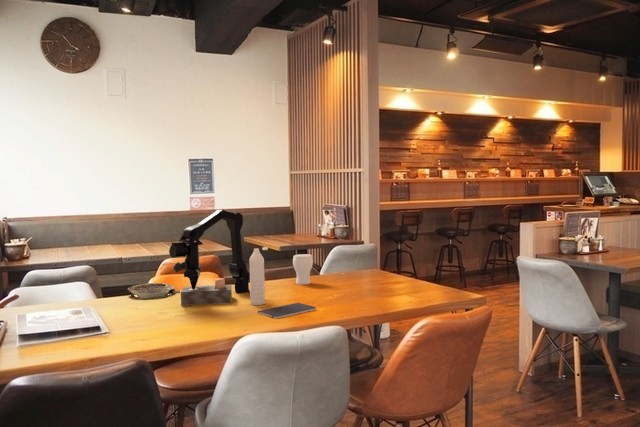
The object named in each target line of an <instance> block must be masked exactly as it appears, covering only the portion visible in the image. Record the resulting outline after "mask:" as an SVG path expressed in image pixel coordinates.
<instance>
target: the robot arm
mask: <svg viewBox="0 0 640 427" xmlns="http://www.w3.org/2000/svg"><path fill="white" fill-rule="evenodd" d="M221 220H223V221H225V222H226V226H227V228H228V230H229V231H230V242H231V243H230V245H231V254H232V259H231V263H230V262H229V263H228V267H229V269H228V272H229V273H230V275H231V276H232V279H233V280H235V281H234V292H235V293H236V294H241V293H250V271H248V268H247V264H246V262H245V260H244V258H243V257H244V256H243V249H242V248H243V244H242V234H241V229H242V227H243V225H244V215H243V214H242V213H240V212H231V211H227V210H225V209H216V210H215V211H214V212H213V213H212V214H210V215H209V216H208V217H206V218H204V219H202V221H200V222H198V223H196V224H193V225H190V226H188V227H186V228H184V229H183V233H182V235H181V237H180V239H179V240H178V241H177V242H171V244H170V247H169V250H168V253H169V256H170V257H171V259H172V258H173V259H175V258H181V257H185V258H184V260H183V261H181V262H179V261H177V262H176V263H175V264H174V265H173V270H174V272H175V273H179V272H180V271H182V270H184V272H183V277H184V278H188V279H189V281H190V285H191V286H190V287H192V289H195V287H196V286H197V283H198V280H199V278H200V275H201V271H202V265H201V264H200V252H199V251H200V250H199V249H200V248H199V246H200V245H201V246H202V245H203V242H202V241H200V239H201V238H202V236H203V235H204V233H205V232H206V231H207V230H209V229H210V228H211V227H212V226H214V225H215V224H217V223H218V222H219V221H221Z"/></svg>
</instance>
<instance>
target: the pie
mask: <svg viewBox="0 0 640 427" xmlns="http://www.w3.org/2000/svg"><path fill="white" fill-rule="evenodd" d="M127 291H128V292H129V293H130V294H131V295H132V297H133V296H134V295H137V296H138V297H139V298H141V299H147V300H152V299H153V300H154V299H155V298H160V297H159V296H161V297H163V299H165V298H166V296H167V297H170V296H172V294H177V293H181V291H180V290H179V289H177V290H176V289H175V287H174V286H173V284H168V283H166V282H152V283H151V282H150V283H149V282H148V283H143V284H142V283H140V284H136V285H135V284H134V285H133V286H130V287H128V288H127ZM170 292H171V293H170ZM168 294H169V295H170V296H169V295H168ZM165 295H166V296H165ZM154 297H155V298H154ZM139 298H138V299H139Z"/></svg>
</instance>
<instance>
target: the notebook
mask: <svg viewBox="0 0 640 427" xmlns="http://www.w3.org/2000/svg"><path fill="white" fill-rule="evenodd" d="M316 308H317V307H316V306H312V305H308V304H306V303H302V302H295V303H288V304H284V305H280V306H276V307H271V308H266V309H260V310H258V311H257V313H258V314H260V315H263V316H266V317H270V318H272V319H276V320H277V319H281V318H286V317H290V316H291V317H292V316H295V315H300V314H303V313H309V312H313V311H316ZM308 311H309V312H308ZM299 313H300V314H299Z"/></svg>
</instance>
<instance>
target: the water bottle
mask: <svg viewBox="0 0 640 427" xmlns="http://www.w3.org/2000/svg"><path fill="white" fill-rule="evenodd" d="M261 249H262V251H268V249H269V247H268V246H267V247H266V246H265V247H264V246H263V247H261ZM248 260H249V261H248V262H249V273H250V280H249V293H250V298H249V299H250V302H249V303H250V305H251V306H262V305H265V304H266V291H265V288H266V286H265V285H266V284H265V282H266V281H265V259H264V256H263V255H262V254H261V252H260V248H257V247H256V248H253V252H252V254H251V255H250V257H249V259H248Z"/></svg>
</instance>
